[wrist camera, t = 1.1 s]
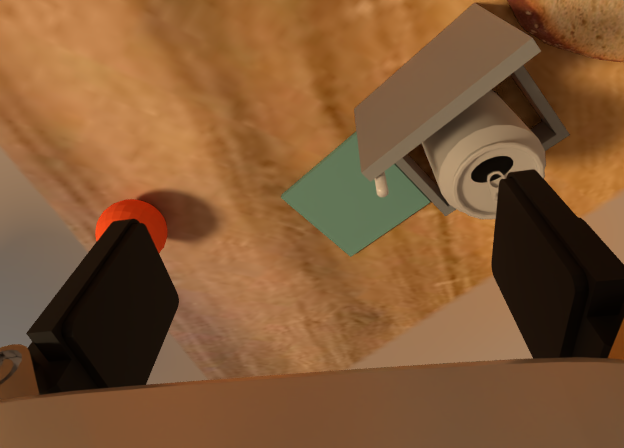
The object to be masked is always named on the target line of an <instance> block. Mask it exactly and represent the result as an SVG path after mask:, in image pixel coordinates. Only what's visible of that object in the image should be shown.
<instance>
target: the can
mask: <svg viewBox="0 0 624 448" xmlns="http://www.w3.org/2000/svg"><path fill="white" fill-rule="evenodd" d="M422 145H423V148H424V151H425V153H426V156H427V158H428V161H429V163H430V166H431V168H432V171H433V173H434V176H435V178H436V181H437V183H438V186H439V189H440V191H441V194H442V195H443V196H444V198H445V199H446V201H447V202H448V203H449V204H450V205H451V206H453V207H454V208H456V209H457V210H459V211H461V212H464V213H466V214H468V215H469V216H472V217H476V218H479V219H496V209H497V199H498V188H499V182H500V180H501V179H506V177H507V175H508V173H509V172H515V171H523V170H531V169H535V170H536V171H537V172H538V173H539V174H540V175H541V177H542V178H543V179H544V177H545V173H544V169H545V166H546V160H545V150H544V148H543V146H542V144H541V142H540V141H539V139H538V138H537V137H536V135H535V134H534V133H533V132H532V131H531V130H530V129H529V128H528V127H527V126H526V125H525V124H524V123H523V121H522V120H521V119H520V118H519V117H518V116H517V115H516V114H515V113H514V112H513V111H512V110H511V109H510V107H509V106H508V105H507V104H506V103H505V102H504V101H503V100H502V99H501V98H500V97H499V96H498V95H497V93H495V92H494V91H493V90H492V89H491V90H490V91H489V92H487V93H486V94H485V95H483V96H482V97H481V98H479V99H478V100H477V101H476V102H474V103H473V104H472V105H470V106H469V107H468V108H466V109H465V110H464V111H462V112H461V113H460V114H459V115H457V116H456V117H455V118H453V119H452V120H451V121H449V122H448V123H447V124H446V125H444V126H443V127H442V128H440V129H439V130H438V131H436V132H435V133H434V134H432V135H431V136H430V137H429V138H427V139H426V140H425V141H423V142H422Z"/></svg>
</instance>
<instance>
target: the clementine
mask: <svg viewBox="0 0 624 448" xmlns="http://www.w3.org/2000/svg"><path fill="white" fill-rule="evenodd" d="M127 219H137V220H138V221H139V222H140V223H143V224H145V225H146V227H147V229H148V231H149V233H150V235H151V238H152V240H153V242H154V244H155V246H156V248H157V251H158V253H160V251H161V250H162V249H163V248H164V245H165V242H166V239H167V225H166V222H165V219H164V217H163V216H162V214H161V213H160V212H159V211H158V210H157V209H156V208H155V207H154V206H152V205H151V204H149V203H147V202H144V201H140V200H134V199H130V200H123V201H120V202H117V203H114V204H113V205H111V206H110V207H108V208H107V209H106V210H105V211H104V212H103V213H102V215H101V216H100V218H99V220H98V222H97V225H96V234H95V235H96V241H98V240H99V238H100V237H101V236H102V234H103V233H104V232H105V231H106V229H107V228H108V227H109V225H110V224H111V223H112V222H113V221H119V220H127Z"/></svg>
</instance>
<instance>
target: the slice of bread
mask: <svg viewBox="0 0 624 448" xmlns="http://www.w3.org/2000/svg"><path fill="white" fill-rule="evenodd" d="M507 1H508V3H509V5H510V7H511V8H512V10H513V12H514V14H515V17H516V18H517V20H518V21H519V23H520V25H521V26H522V27H523V28H524V29H525V30H526V31H528V32H529V33H531V34H533V35H534V36H536V37H538V38H539V39H540V40H542V41H543V42H544V43H546V44H549V45H552V46H555V47H557V48H560V49H564V50H567V51H571V52H575V53H577V54H581V55H584V56H586V57H589V58H595V59H600V60H606V61H616V62H624V0H507Z"/></svg>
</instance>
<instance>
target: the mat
mask: <svg viewBox="0 0 624 448" xmlns="http://www.w3.org/2000/svg"><path fill="white" fill-rule="evenodd" d="M385 176H386V181H387V186H388V191H389V193H388V195H387V196H386V197H379V196H378V195H377V191H376V185H375V179H374V180H372V181H371V182H370V181H369V180H368V179H367V178H366V177H365V176H364V175H363V174H362V173H361V166H360V157H359V149H358V140H357V131H356V132H355V133H354V134H352V135H351V136H350V137H349V138H348V139H347V140H345V141H344V142H343V143H342V144H341V145H340V146H338V147H337V148H336V149H335V150H334V151H332V152H331V153H330V154H329V155H328V156H327V157H325V158H324V159H323V160H322V161H321V162H320V163H318V164H317V165H316V166H315V167H314V168H312V169H311V170H310V171H309V172H308V173H307V174H305V175H304V176H303V177H302V178H301V179H300V180H298V181H297V182H296V183H295V184H294V185H292V186H291V187H290V188H289V189H288V190H287V191H285V192H284V193H283V194H282V196H281V198H282V199H283V200H284V201H286V202H287V203H288V204H289V205H290V206H291V207H293V208H294V209H295V210H296V211H297V212H298V213H300V214H301V215H302V216H303V217H304V218H306V219H307V220H308V221H309V222H310V223H311V224H313V225H314V226H315V227H316V228H317V229H319V230H320V231H321V232H322V233H323V234H324V235H326V236H327V237H328V238H329V239H330V240H332V241H333V242H334V243H335V244H336V245H337V246H339V247H340V248H341V249H342V250H343V251H344V252H346V253H347V254H348V255H349V256H350V257H351V256H353V255H354V254H355V253H357V252H358V251H360V250H361V249H363V248H364V247H366V246H367V245H369V244H370V243H372V242H373V241H374V240H376V239H377V238H379V237H380V236H382V235H383V234H385V233H386V232H388V231H389V230H391V229H392V228H393V227H395V226H396V225H398V224H399V223H401V222H402V221H404V220H405V219H407V218H408V217H410V216H411V215H412V214H414V213H415V212H417V211H418V210H420V209H421V208H423V207H424V206H426V205H427V204H428V203H430V199H429V198H428V197H427V196H426V195H425V194H424V193H423V192H422V191H421V190H420V189H419V188H418V187H417V186H416V185H415V184H414V183H413V181H412V180H411V179H410V178H409V177H408V176H407V175H406V174H405V173H404V172H403V171H402V170H401V169H400V168H399V167H398V166H397V165H396V164H393V165H392V166H391V167H389V168H388V169H387V170H385Z"/></svg>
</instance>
